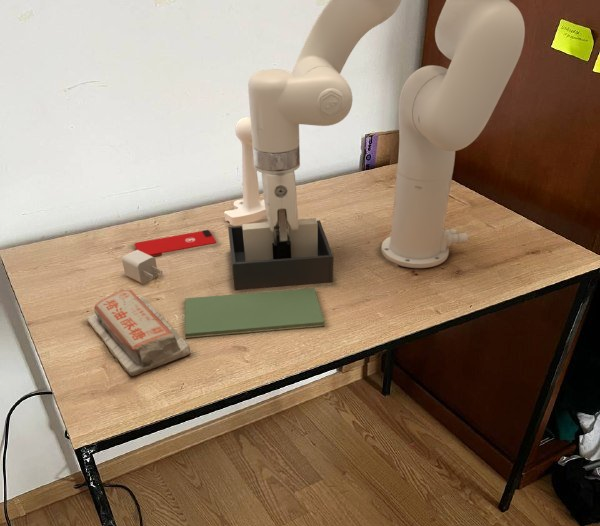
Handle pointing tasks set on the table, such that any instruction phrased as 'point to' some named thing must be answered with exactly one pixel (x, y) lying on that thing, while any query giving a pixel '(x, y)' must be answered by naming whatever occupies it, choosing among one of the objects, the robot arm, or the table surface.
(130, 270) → the usb wall charger
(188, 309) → the mat
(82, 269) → the table surface
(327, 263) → the bin
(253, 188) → the joystick
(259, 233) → the board
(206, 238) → the electronic device
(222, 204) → the table surface
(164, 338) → the packaged product
